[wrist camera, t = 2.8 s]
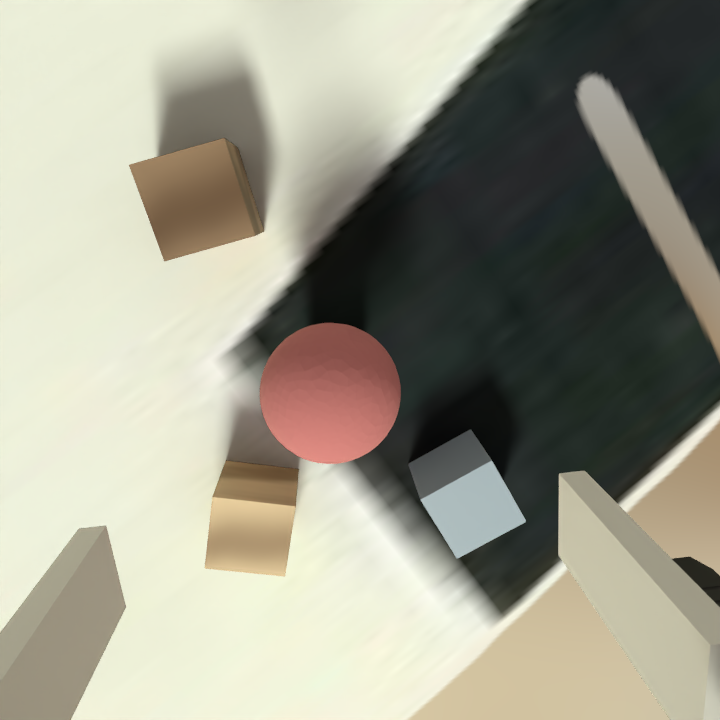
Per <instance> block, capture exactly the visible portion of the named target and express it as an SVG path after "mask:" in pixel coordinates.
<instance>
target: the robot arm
mask: <svg viewBox="0 0 720 720" xmlns="http://www.w3.org/2000/svg"><path fill="white" fill-rule="evenodd" d="M558 555H559V556H560V558H561V559H562V561H563V562H564V564H565V565H566V567H567V568H568V570H569V571H570V573H571V574H572V576H573V577H574V579H575V580H576V582H577V583H578V584H579V586H580V588H581V589H582V590H583V592H584V593H585V595H586V596H587V598H588V599H589V601H590V602H591V604H592V605H593V607H594V608H595V610H596V611H597V613H598V614H599V616H600V617H601V618H602V620H603V621H604V623H605V624H606V626H607V627H608V629H609V630H610V632H611V633H612V635H613V636H614V638H615V639H616V641H617V642H618V644H619V645H620V647H621V648H622V650H623V651H624V653H625V654H626V655H627V657H628V658H629V660H630V661H631V663H632V664H633V666H634V667H635V669H636V670H637V672H638V673H639V675H640V676H641V678H642V679H643V681H644V682H645V684H646V685H647V687H648V688H649V690H650V691H651V693H652V694H653V695H654V697H655V698H656V700H657V701H658V703H659V704H660V706H661V707H662V709H663V710H664V712H665V713H666V715H667V716H668V718H669V719H670V720H720V576H719V575H718V574H717V573H716V572H715V571H714V570H713V569H711V568H709V567H708V566H706V565H704V564H702V563H700V562H698V561H697V560H695V559H693V558H691V557H684V558H675V559H671V558H670V557H669V556H668V555H667V554H666V553H665V552H664V551H663V550H662V549H661V547H660V546H659V545H657V543H656V542H655V541H654V540H653V539H652V538H651V537H650V536H649V535H648V534H647V533H646V532H645V531H644V530H643V529H642V528H641V527H640V526H639V525H638V524H637V523H636V522H635V521H634V520H633V519H632V518H631V517H630V516H629V515H628V514H627V513H626V512H625V511H624V510H623V509H622V508H621V507H620V506H619V505H618V504H617V503H616V502H615V501H614V500H613V499H612V498H611V497H610V496H609V495H608V494H607V493H606V492H605V491H604V490H603V489H602V488H601V487H600V486H599V485H598V484H597V483H596V482H595V481H594V480H593V479H592V478H591V477H590V476H589V475H588V474H587V473H586V472H585V471H578V472H569V473H560V474H559V551H558ZM125 608H126V605H125V601H124V597H123V593H122V589H121V585H120V581H119V576H118V572H117V568H116V564H115V560H114V556H113V552H112V548H111V544H110V540H109V535H108V531H107V527H106V526H98V527H90V528H81V529H78V530H77V532H76V533H75V534H74V536H73V537H72V538H71V540H70V541H69V542H68V544H67V545H66V546H65V548H64V549H63V550H62V552H61V553H60V554H59V556H58V557H57V558H56V560H55V561H54V562H53V564H52V565H51V566H50V568H49V569H48V570H47V572H46V573H45V574H44V575H43V577H42V578H41V579H40V581H39V582H38V583H37V585H36V586H35V587H34V589H33V590H32V591H31V593H30V594H29V595H28V597H27V598H26V599H25V601H24V602H23V603H22V605H21V606H20V607H19V609H18V610H17V611H16V613H15V614H14V615H13V617H12V618H11V619H10V621H9V622H8V623H7V625H6V626H5V627H4V628H3V630H2V631H1V632H0V720H71V718H72V716H73V714H74V712H75V710H76V708H77V706H78V704H79V702H80V700H81V698H82V696H83V694H84V692H85V689H86V687H87V685H88V683H89V681H90V679H91V677H92V675H93V673H94V671H95V669H96V667H97V665H98V663H99V661H100V659H101V657H102V655H103V653H104V651H105V649H106V647H107V645H108V643H109V640H110V638H111V636H112V634H113V632H114V630H115V628H116V626H117V624H118V622H119V620H120V618H121V616H122V614H123V612H124V610H125Z"/></svg>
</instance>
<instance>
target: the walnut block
mask: <svg viewBox="0 0 720 720" xmlns="http://www.w3.org/2000/svg"><path fill="white" fill-rule="evenodd" d="M129 166H130V169H131V172H132V174H133V177H134V180H135V183H136V185H137V188H138V191H139V193H140V196H141V199H142V202H143V204H144V207H145V210H146V212H147V215H148V218H149V221H150V223H151V226H152V229H153V231H154V234H155V237H156V240H157V242H158V245H159V248H160V250H161V253H162V256H163V259H164V261H167V260H171V259H175V258H178V257H182V256H185V255H189V254H192V253H196V252H199V251H203V250H206V249H210V248H213V247H217V246H220V245H224V244H228V243H231V242H235V241H238V240H242V239H245V238H249V237H252V236H256V235H258V234H260V233H262V232H264V229H263V226H262V223H261V220H260V217H259V213H258V210H257V207H256V204H255V201H254V197H253V194H252V191H251V188H250V185H249V181H248V178H247V175H246V172H245V169H244V165H243V162H242V159H241V156H240V153H239V150H238V147H236V146H235V145H234V144H232V143H231V142H229V141H228V140H226V139H225V138H222V139H219V140H215V141H212V142H208V143H205V144H201V145H198V146H194V147H190V148H187V149H183V150H180V151H176V152H173V153H169V154H166V155H162V156H159V157H155V158H152V159H148V160H145V161H141V162H138V163H134V164H131V165H129Z"/></svg>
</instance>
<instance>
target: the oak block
mask: <svg viewBox="0 0 720 720" xmlns="http://www.w3.org/2000/svg"><path fill="white" fill-rule="evenodd" d="M298 473H299V469H293V468H285V467H276V466H268V465H260V464H251V463H243V462H234V461H226V462H225V465H224V467H223V470H222V473H221V475H220V478H219V481H218V483H217V486H216V489H215V491H214V494H213V497H212V506H211V515H210V524H209V534H208V543H207V552H206V561H205V568H206V569H216V570H226V571H236V572H246V573H256V574H266V575H276V576H285V573H286V566H287V560H288V553H289V546H290V540H291V533H292V527H293V520H294V514H295V507H296V496H297V484H298Z"/></svg>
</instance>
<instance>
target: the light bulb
mask: <svg viewBox="0 0 720 720" xmlns="http://www.w3.org/2000/svg"><path fill="white" fill-rule="evenodd" d="M260 403H261V409H262V413H263V416H264V419H265V421H266V423H267V426H268V428H269V429H270V431H271V432H272V434H273V435H274V436H275V438H276V439H277V440H278V441H279V442H280V443H281V444H282V445H283V446H284V447H285V448H286V449H288V450H289V451H291V452H292V453H294V454H295V455H297V456H299V457H301V458H303V459H306V460H309V461H312V462H317V463H326V464H336V463H342V462H347V461H351V460H354V459H356V458H359V457H361V456H363V455H365V454H366V453H368V452H370V451H371V450H372V449H374V448H375V447H376V446H377V445H379V444H380V442H381V441H382V440H383V439H384V438H385V437H386V436H387V434H388V432H389V431H390V429H391V428H392V426H393V424H394V422H395V419H396V417H397V413H398V410H399V405H400V381H399V376H398V373H397V370H396V367H395V364H394V362H393V360H392V358H391V357H390V355H389V354H388V352H387V351H386V350H385V348H384V347H383V346H382V345H381V344H380V343H379V342H378V341H377V340H376V339H375V338H373V337H372V336H371V335H369V334H368V333H366V332H364V331H362V330H360V329H358V328H356V327H353V326H350V325H346V324H338V323H322V324H316V325H311V326H308V327H305V328H303V329H300V330H298V331H297V332H295V333H293V334H292V335H290V336H289V337H287V338H286V339H285V340H284V341H283V342H282V343H281V344H280V345H279V346H278V347H277V348H276V349H275V350H274V352H273V353H272V355H271V356H270V358H269V359H268V361H267V364H266V366H265V368H264V371H263V375H262V378H261V384H260Z"/></svg>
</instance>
